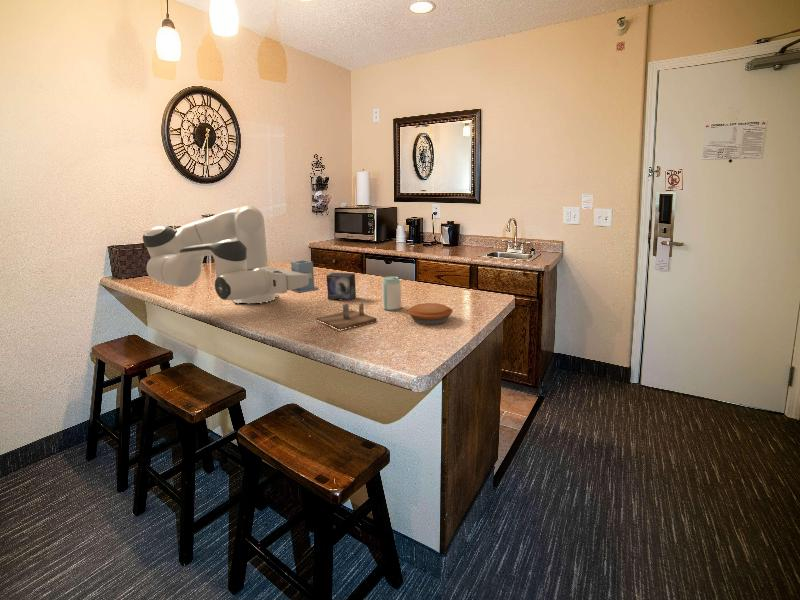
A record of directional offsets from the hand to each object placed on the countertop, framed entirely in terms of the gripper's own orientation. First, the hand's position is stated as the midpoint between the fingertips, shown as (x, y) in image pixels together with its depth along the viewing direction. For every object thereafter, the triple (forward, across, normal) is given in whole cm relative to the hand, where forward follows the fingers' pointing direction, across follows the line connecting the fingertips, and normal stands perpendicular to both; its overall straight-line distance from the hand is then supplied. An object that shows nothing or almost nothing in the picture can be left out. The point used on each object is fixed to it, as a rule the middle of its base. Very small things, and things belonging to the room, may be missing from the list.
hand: (305, 273), depth 155 cm
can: (+30, +11, -17) cm, 36 cm away
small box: (+27, -16, -17) cm, 36 cm away
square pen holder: (-1, 0, -6) cm, 6 cm away
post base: (+8, +11, -17) cm, 22 cm away
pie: (+29, +32, -17) cm, 46 cm away
